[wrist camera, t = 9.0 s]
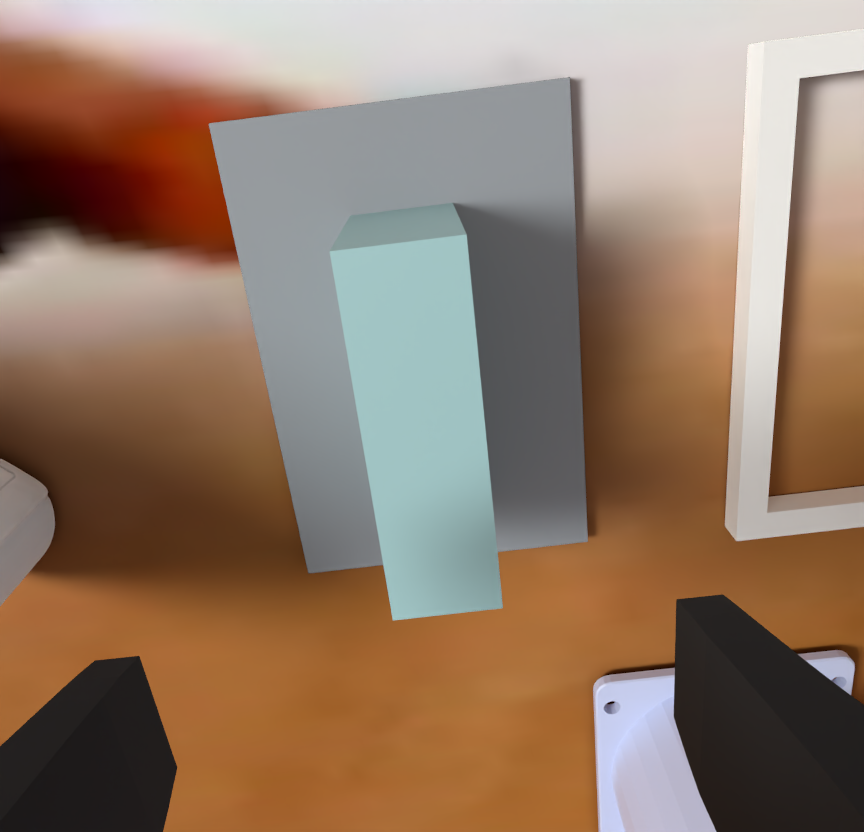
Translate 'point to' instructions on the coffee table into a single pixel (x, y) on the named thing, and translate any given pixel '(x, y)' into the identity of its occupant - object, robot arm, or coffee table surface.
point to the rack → (774, 289)
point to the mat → (490, 278)
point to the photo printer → (22, 525)
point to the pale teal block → (420, 406)
